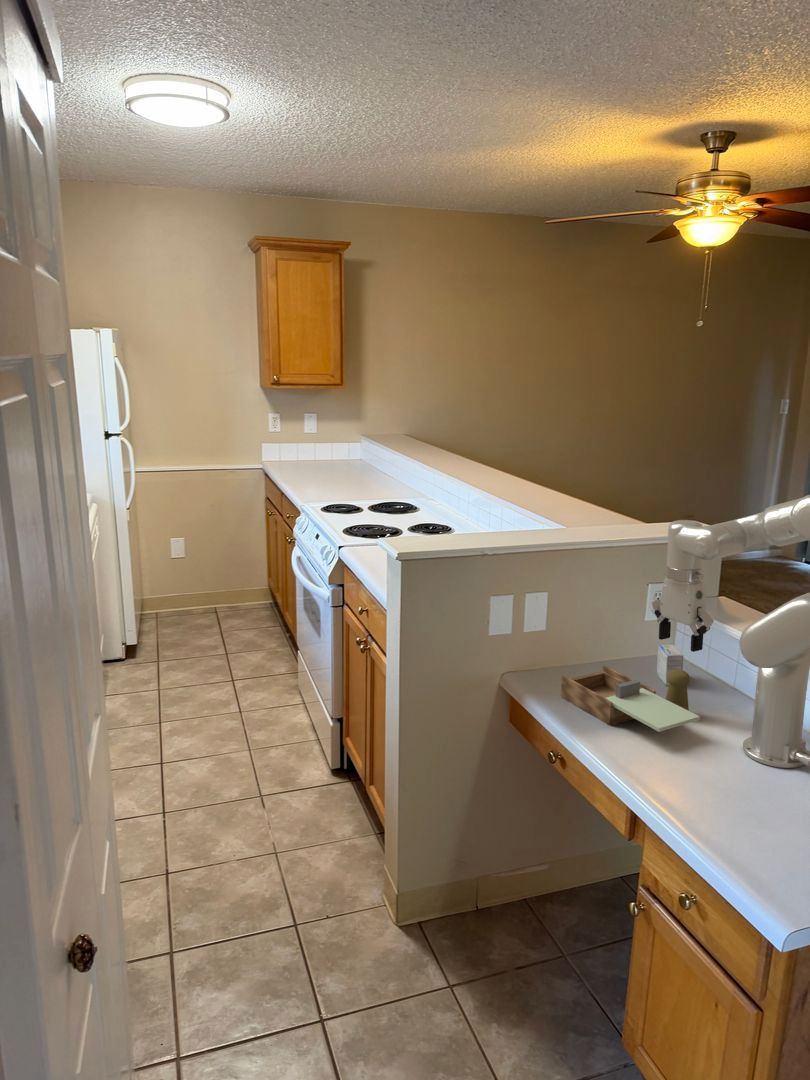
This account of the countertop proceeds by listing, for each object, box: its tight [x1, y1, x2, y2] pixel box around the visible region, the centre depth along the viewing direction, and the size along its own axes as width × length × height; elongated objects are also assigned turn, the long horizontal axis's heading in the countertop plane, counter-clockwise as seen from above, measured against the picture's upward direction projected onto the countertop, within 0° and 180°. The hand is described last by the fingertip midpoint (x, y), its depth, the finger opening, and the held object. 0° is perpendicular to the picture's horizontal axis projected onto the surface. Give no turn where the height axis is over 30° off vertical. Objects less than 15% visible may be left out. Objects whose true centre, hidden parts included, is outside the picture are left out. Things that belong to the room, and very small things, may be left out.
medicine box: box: [656, 644, 684, 686], centre depth 201 cm, size 8×4×9 cm, turn 179°
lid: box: [606, 679, 701, 733], centre depth 173 cm, size 18×12×4 cm
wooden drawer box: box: [560, 665, 656, 726], centre depth 187 cm, size 18×14×6 cm
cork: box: [665, 670, 691, 711], centre depth 180 cm, size 6×6×11 cm
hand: (680, 644), depth 177 cm, fingers open, 9 cm apart
